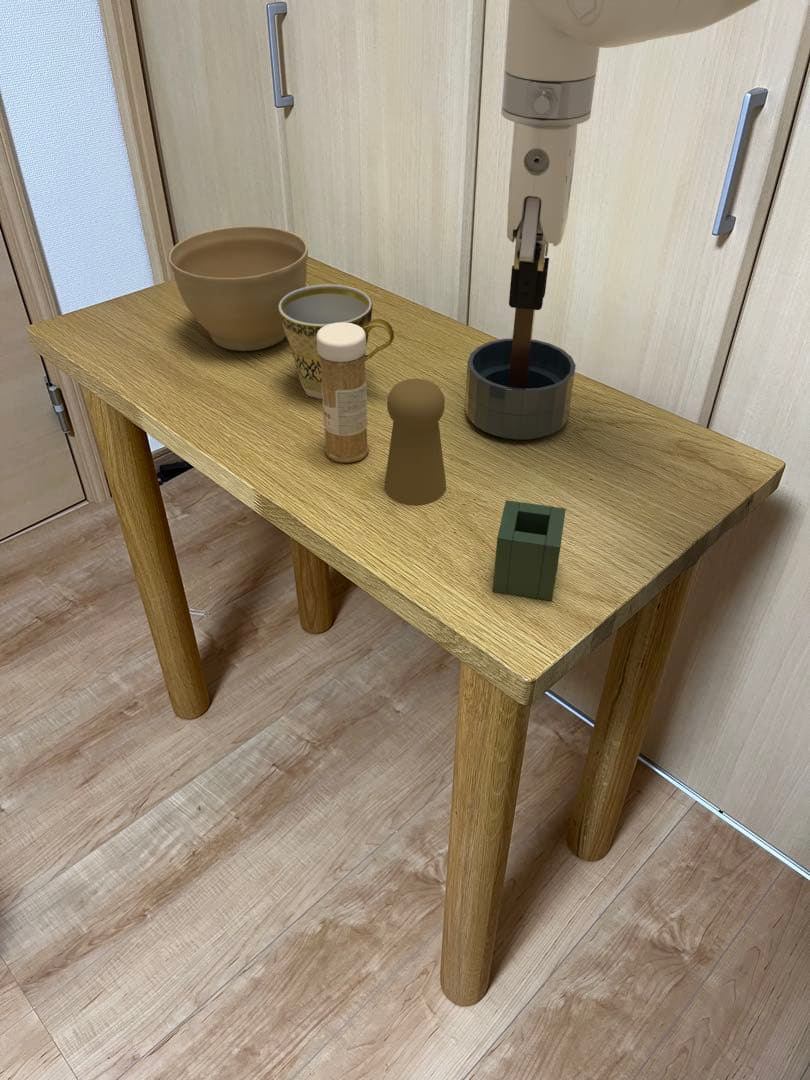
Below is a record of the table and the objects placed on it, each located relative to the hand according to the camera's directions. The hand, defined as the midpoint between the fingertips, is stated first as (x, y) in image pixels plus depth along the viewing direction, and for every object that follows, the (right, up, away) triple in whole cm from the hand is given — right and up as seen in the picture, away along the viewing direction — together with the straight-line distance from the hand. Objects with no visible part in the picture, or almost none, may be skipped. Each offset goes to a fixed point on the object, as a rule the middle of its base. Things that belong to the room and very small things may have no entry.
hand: (526, 300), depth 83 cm
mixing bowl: (0, -10, +9) cm, 13 cm away
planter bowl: (-31, +2, +23) cm, 39 cm away
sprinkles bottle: (-18, -15, +4) cm, 23 cm away
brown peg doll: (-11, -18, -1) cm, 21 cm away
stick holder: (-2, -27, -10) cm, 29 cm away
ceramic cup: (-19, -6, +13) cm, 24 cm away
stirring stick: (0, -9, +8) cm, 13 cm away
